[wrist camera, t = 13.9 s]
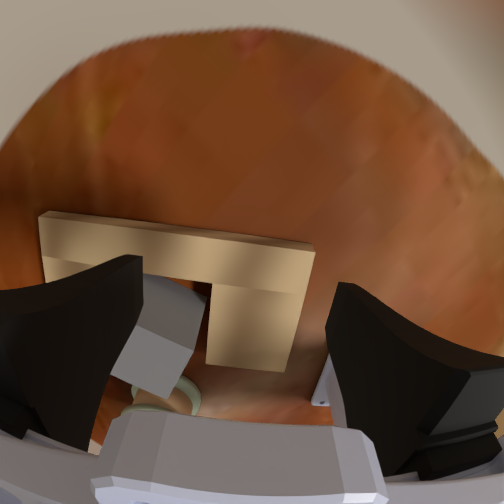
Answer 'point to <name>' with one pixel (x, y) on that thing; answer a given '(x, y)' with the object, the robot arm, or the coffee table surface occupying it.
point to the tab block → (161, 336)
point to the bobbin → (179, 401)
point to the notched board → (199, 277)
